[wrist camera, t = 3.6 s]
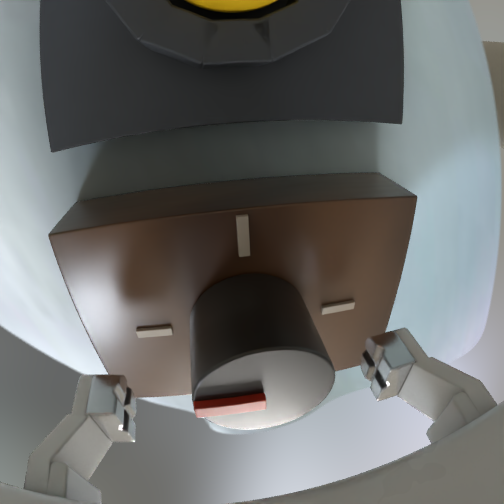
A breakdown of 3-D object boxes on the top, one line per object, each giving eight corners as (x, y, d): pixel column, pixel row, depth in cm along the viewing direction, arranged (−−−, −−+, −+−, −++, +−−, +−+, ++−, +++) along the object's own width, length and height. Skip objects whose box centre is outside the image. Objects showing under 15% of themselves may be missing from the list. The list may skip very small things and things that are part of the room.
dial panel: (379, 172, 13) (420, 197, 10) (354, 324, 17) (376, 363, 15) (75, 201, 11) (45, 236, 9) (128, 355, 16) (121, 401, 13)
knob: (308, 264, 11) (351, 342, 8) (301, 350, 13) (328, 422, 10) (180, 280, 10) (178, 369, 7) (199, 364, 13) (205, 443, 9)
